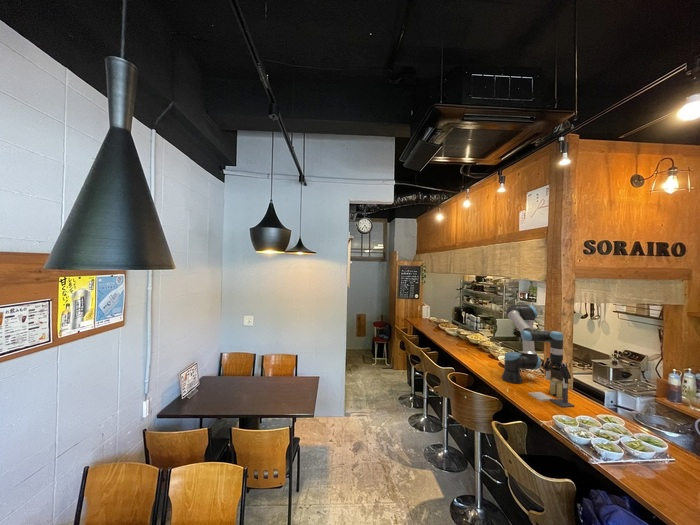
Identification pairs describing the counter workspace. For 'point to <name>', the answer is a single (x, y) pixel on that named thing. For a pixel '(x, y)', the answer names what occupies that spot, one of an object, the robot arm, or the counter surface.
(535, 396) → the plate
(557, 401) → the stand
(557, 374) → the beer stein
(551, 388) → the link
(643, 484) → the counter surface
